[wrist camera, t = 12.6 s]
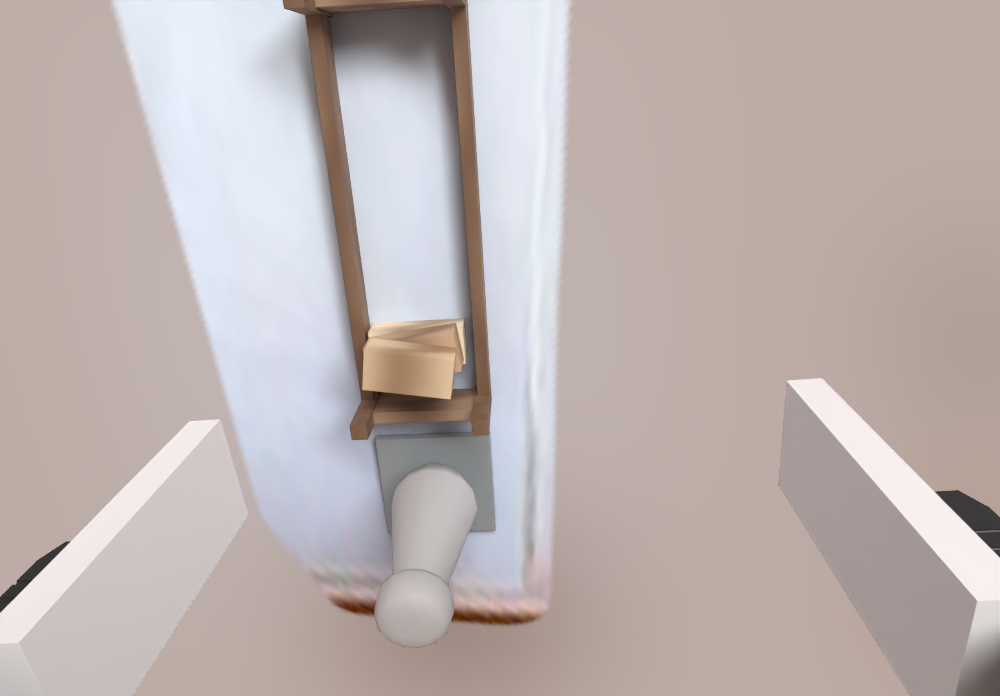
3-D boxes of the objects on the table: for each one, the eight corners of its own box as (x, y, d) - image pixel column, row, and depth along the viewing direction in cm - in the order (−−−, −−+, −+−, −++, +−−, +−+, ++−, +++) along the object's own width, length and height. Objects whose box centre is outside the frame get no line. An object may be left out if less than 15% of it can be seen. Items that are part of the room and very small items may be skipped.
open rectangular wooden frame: (466, -13, 35) (459, -26, 30) (491, 398, 44) (488, 435, 40) (311, -3, 35) (280, -16, 31) (368, 402, 45) (351, 440, 40)
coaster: (489, 431, 45) (489, 436, 45) (495, 525, 49) (495, 530, 48) (376, 435, 46) (375, 439, 45) (389, 528, 49) (388, 533, 48)
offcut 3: (457, 347, 39) (454, 360, 37) (453, 384, 40) (450, 399, 38) (370, 337, 39) (363, 350, 37) (369, 375, 40) (362, 389, 38)
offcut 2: (455, 322, 41) (453, 334, 39) (463, 358, 42) (461, 371, 40) (369, 337, 41) (362, 349, 39) (379, 372, 42) (373, 385, 40)
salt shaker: (492, 473, 46) (485, 612, 34) (455, 530, 48) (436, 681, 36) (419, 438, 45) (384, 568, 33) (384, 498, 47) (339, 641, 35)
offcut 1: (464, 316, 43) (462, 327, 41) (467, 352, 44) (465, 364, 42) (374, 321, 43) (368, 332, 41) (379, 356, 44) (373, 368, 42)
